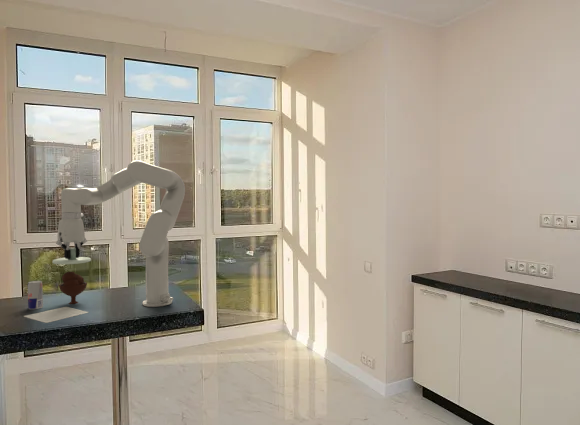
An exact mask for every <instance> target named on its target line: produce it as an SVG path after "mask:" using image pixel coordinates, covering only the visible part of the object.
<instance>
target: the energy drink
mask: <svg viewBox="0 0 580 425" xmlns="http://www.w3.org/2000/svg"><path fill="white" fill-rule="evenodd" d="M43 292H44V290H43V281H42V280H32V281H31V280H30V281H28V282H27V308H28V310H38V309H39V310H40V309H42V308H43V307H44V297H43V294H44V293H43Z"/></svg>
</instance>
